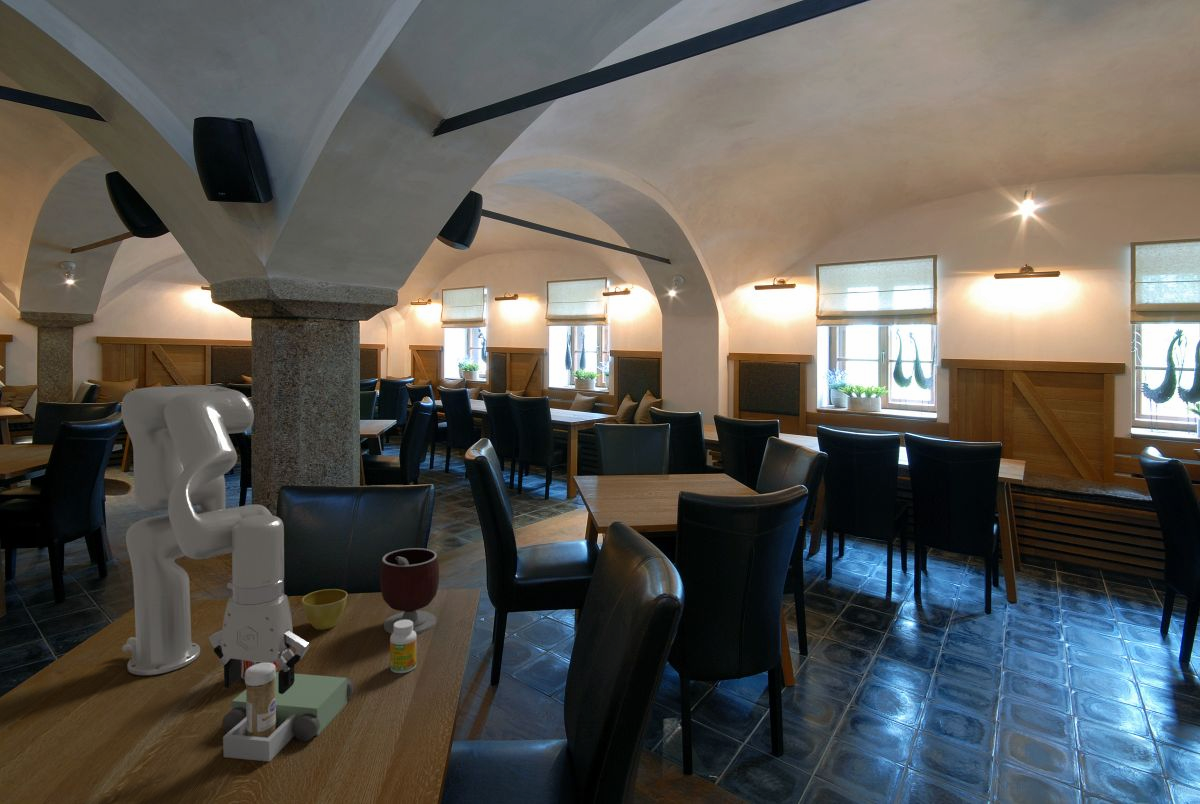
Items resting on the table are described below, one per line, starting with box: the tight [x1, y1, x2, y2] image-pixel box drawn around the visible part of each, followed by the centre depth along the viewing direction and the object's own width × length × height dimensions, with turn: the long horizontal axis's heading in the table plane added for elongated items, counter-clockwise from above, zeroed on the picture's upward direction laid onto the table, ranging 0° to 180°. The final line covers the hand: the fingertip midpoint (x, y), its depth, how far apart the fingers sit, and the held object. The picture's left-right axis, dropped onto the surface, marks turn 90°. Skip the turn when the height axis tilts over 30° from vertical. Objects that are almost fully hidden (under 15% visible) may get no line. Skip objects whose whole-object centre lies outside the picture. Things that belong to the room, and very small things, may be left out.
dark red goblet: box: [379, 547, 440, 635], centre depth 147 cm, size 16×14×20 cm
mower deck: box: [222, 671, 355, 762], centre depth 108 cm, size 17×19×5 cm
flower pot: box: [301, 588, 348, 631], centre depth 147 cm, size 10×10×7 cm
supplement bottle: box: [389, 620, 418, 674], centre depth 128 cm, size 5×5×10 cm
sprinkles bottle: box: [244, 663, 277, 738], centre depth 103 cm, size 5×5×13 cm
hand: (259, 686), depth 103 cm, fingers open, 9 cm apart
